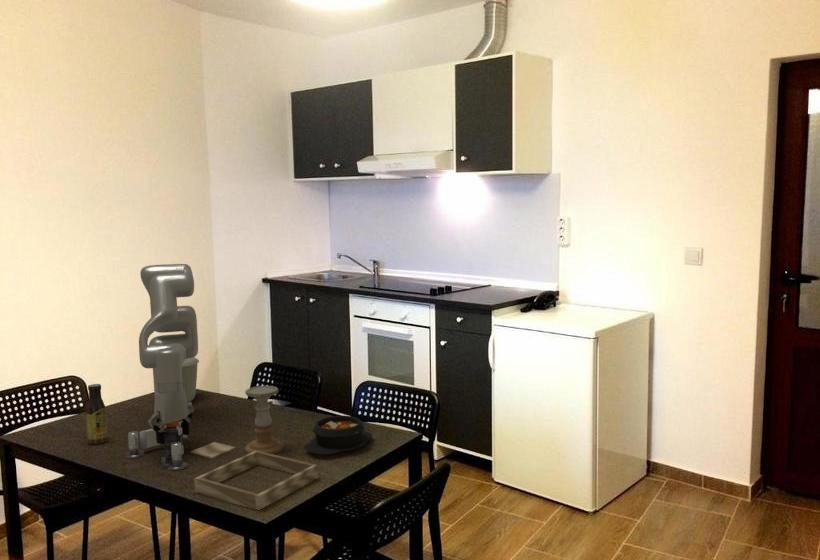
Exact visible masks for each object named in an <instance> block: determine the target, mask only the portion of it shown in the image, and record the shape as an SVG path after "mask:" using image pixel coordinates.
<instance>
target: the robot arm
mask: <svg viewBox="0 0 820 560" xmlns="http://www.w3.org/2000/svg"><path fill="white" fill-rule="evenodd" d="M139 275H140V279H141V282H142V284H143V286H144V288H145V290H146V292H147V293H148V296H149V302H150V303H149V304H150V305H149V306H150V318H149V319H148V321H146V323H145V324H144V325H143V327H142V328H141V331H140V333H139V338H138V352H139V353H138V357H139V363H140V365H141V366H142V367H143V368H145V369H152V375H153V378H152V379H153V389H154V390H153V393H154V402H153V403H154V404H153V405H154V406H153V414H152V415H151V417H150V418H149V419H148V420H147V423H148V424H149V426H150V429H153V430H154V431H156V440H157V443H159V444H161V445H164V444H165V434H164V432H163V429H164V427H165V425H167V424H170V423H173V422H176V421H179V422H181V421H183V422H181V427H182V430H183V435H188V436H189V435H190V423H191V419H192V417H193V415H194V414H193V413H194V411H195V406H193V403H192V401H190V402H188V403H187V399H186V394H185V391H184V389H183V384H184V380H182V367H181V365H182V364H183V362H184V360H185V359H188V358H193V357H195V358H196V357H197V355H198V353H199V336H198V320H197V313H196V311H195V309H194V307H192V306H190V305H178V299H177V298H187V297H188V298H191V296H193V294H194V292H195V280H194V276H193V271H192V268H191V266H190V265H189V264H188V263H187V264H186V263H172V264H167V263H165V264H152V265H146V266H144V267H141V269H140V274H139ZM155 332H156V333H162V334H164V333H174V334H164V335H158V336H155V337H152V338H151V339H150V341H149V337H150V336H151V335H152V334H153V333H155ZM175 332H176V334H175ZM177 332H183V333H178V334H177ZM148 342H149V343H148ZM159 427H160V428H159Z"/></svg>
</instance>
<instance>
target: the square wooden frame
mask: <svg viewBox="0 0 820 560" xmlns="http://www.w3.org/2000/svg"><path fill="white" fill-rule="evenodd" d="M259 465H260V467H263V466H264V467H263V468H267V467H269V468H268V469H271V468H273V469H272V470H275V469H277V470H276V471H279V470H281V472H283V471H285V472H284V473H287V472H289V473H288V474H291V473H294V474H292V476H289V477H287V478H285V479H284V480H281V481H280V482H278V483H276V484H274V485H271V486H270V487H268V488H267V489H265V490H263V491H261V492H259V493H258V492H254V491H249V490H245V489H241V488H238V487H235V486H231V485H227V484H225V483H221V482H224V481H226V480H228V479H230V478H232V477H234V476H236V475H238V474H240V473H243V472H245V471H247V470H249V469H251V468H253V467H255V466H259ZM316 478H317V479H318V478H319V467H318V464H315V463H311V462H306V461H303V460H302V461H301V460H298V459H294V458H290V457H285V456H281V455H278V454H277V455H276V454H269V453H264V452H260V451H254V452H251V453H249V454H247V453H246V454H245V455H242V456H241V457H239V458H236V459H234V460H232V461H229V462H226V463H225V464H223V465H220V466H219V467H216V468H215V469H211V470H209V471H207V472H205V473H203V474H201V475H199V476H196V477H195V478H193V482H194V484H193V485H194V493H197V494H200V495H204V496H206V497H210V498H214V499H217V500H220V501H223V502H227V503H230V504H234V505H237V504H238V506H240V505H242V506H241V507H244V506H245V507H244V508H247V507H249V508H248V509H251V508H253V509H252V510H254V509H257V510H260V509H262V508H264V507H265V506H267V505H269V504H271V503H273V502H275V501H276V502H278V501H279V499H280V500H281V498H282V497H284V496H285V497H287V496H289V495H290V493H291V492H292V493H294V492H296V491H297V490H296V489H298V488H300V487H301V488H303V487H305V486H306V485H305V484H307V483H308V484H310V483H311V482H310V481H312V480H314V479H316ZM317 479H316V480H317ZM314 481H315V480H314ZM309 482H310V483H309ZM312 482H313V481H312ZM308 484H307V485H308ZM304 485H305V486H304ZM302 486H303V487H302ZM301 488H300V489H301ZM295 490H296V491H295ZM298 490H299V489H298ZM293 491H294V492H293ZM292 493H291V494H292ZM288 494H289V495H288ZM286 495H287V496H286ZM285 497H284V498H285ZM282 499H283V498H282ZM277 500H278V501H277ZM276 502H275V503H276ZM273 504H274V503H273ZM271 505H272V504H271ZM269 506H270V505H269ZM267 507H268V506H267ZM264 509H265V508H264ZM257 510H256V511H257ZM262 510H263V509H262ZM260 511H261V510H260Z"/></svg>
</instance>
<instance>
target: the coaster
mask: <svg viewBox="0 0 820 560" xmlns="http://www.w3.org/2000/svg"><path fill="white" fill-rule="evenodd" d="M236 449H237V448H236V446H233V445H228V444H224V443H221V442H220V443H219V442H216V441H213V442H211V443H209V444H205V445H204V446H201V447H198V448H195V449H193V450H191V451H190V454H192V455H196V456H200V457H202V458H203V457H204V458H207V459H212V460H213V459H216V458H218V457H220V456H222V455H224V454H226V453H229V452H231V451H234V450H236Z"/></svg>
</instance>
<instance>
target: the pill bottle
mask: <svg viewBox="0 0 820 560" xmlns="http://www.w3.org/2000/svg"><path fill="white" fill-rule="evenodd" d="M179 422H180V420H179V421H176V422H173V423H170V424H167V425H166V428H164V430H163V432H164V434H165V444H163V451H164V457H168V459H169V458H170V459H172V454H171V443H173V442H181V448H182V456H183V455H184V454H185V450H184V438H183V430H182V427H181V426H179Z"/></svg>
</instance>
